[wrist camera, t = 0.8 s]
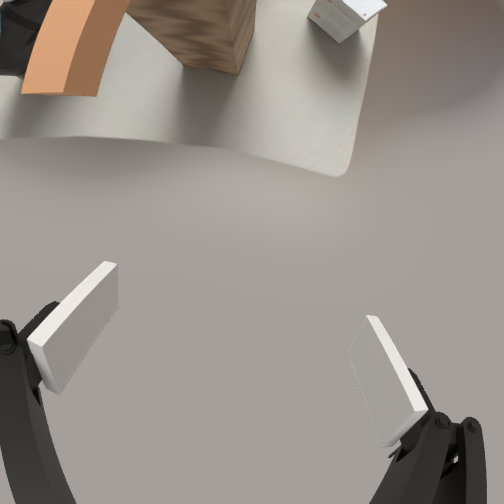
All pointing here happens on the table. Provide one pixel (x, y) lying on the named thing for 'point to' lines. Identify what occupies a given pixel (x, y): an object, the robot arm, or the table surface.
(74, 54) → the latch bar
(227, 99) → the table surface
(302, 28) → the table surface
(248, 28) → the post
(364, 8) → the small box
